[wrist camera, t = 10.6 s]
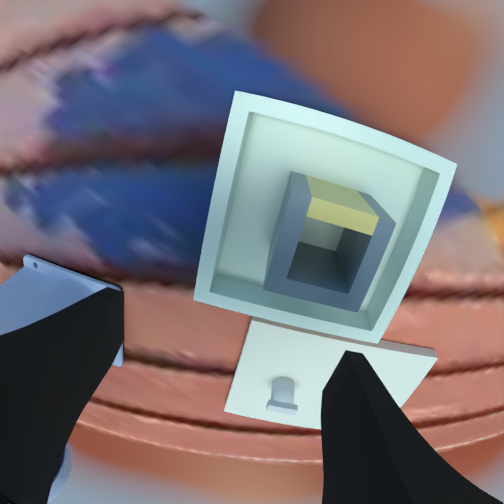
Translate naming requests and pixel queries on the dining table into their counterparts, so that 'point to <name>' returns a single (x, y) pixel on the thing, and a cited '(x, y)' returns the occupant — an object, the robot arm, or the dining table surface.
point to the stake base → (311, 371)
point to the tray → (314, 231)
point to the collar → (320, 259)
